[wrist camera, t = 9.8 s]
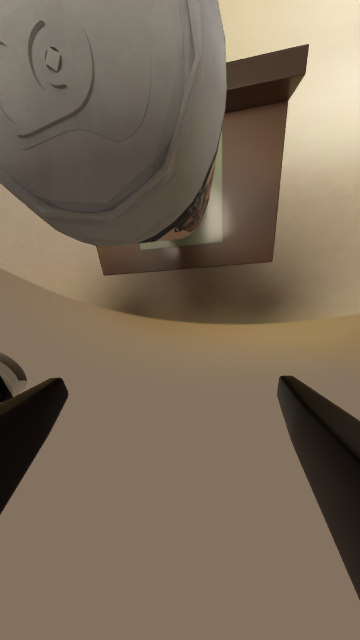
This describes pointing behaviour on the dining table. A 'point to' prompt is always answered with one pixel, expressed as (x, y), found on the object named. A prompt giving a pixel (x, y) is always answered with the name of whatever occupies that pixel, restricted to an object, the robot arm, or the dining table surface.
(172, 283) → the dining table surface
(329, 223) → the dining table surface
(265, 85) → the brown rectangular block
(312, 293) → the dining table surface
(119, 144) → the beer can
